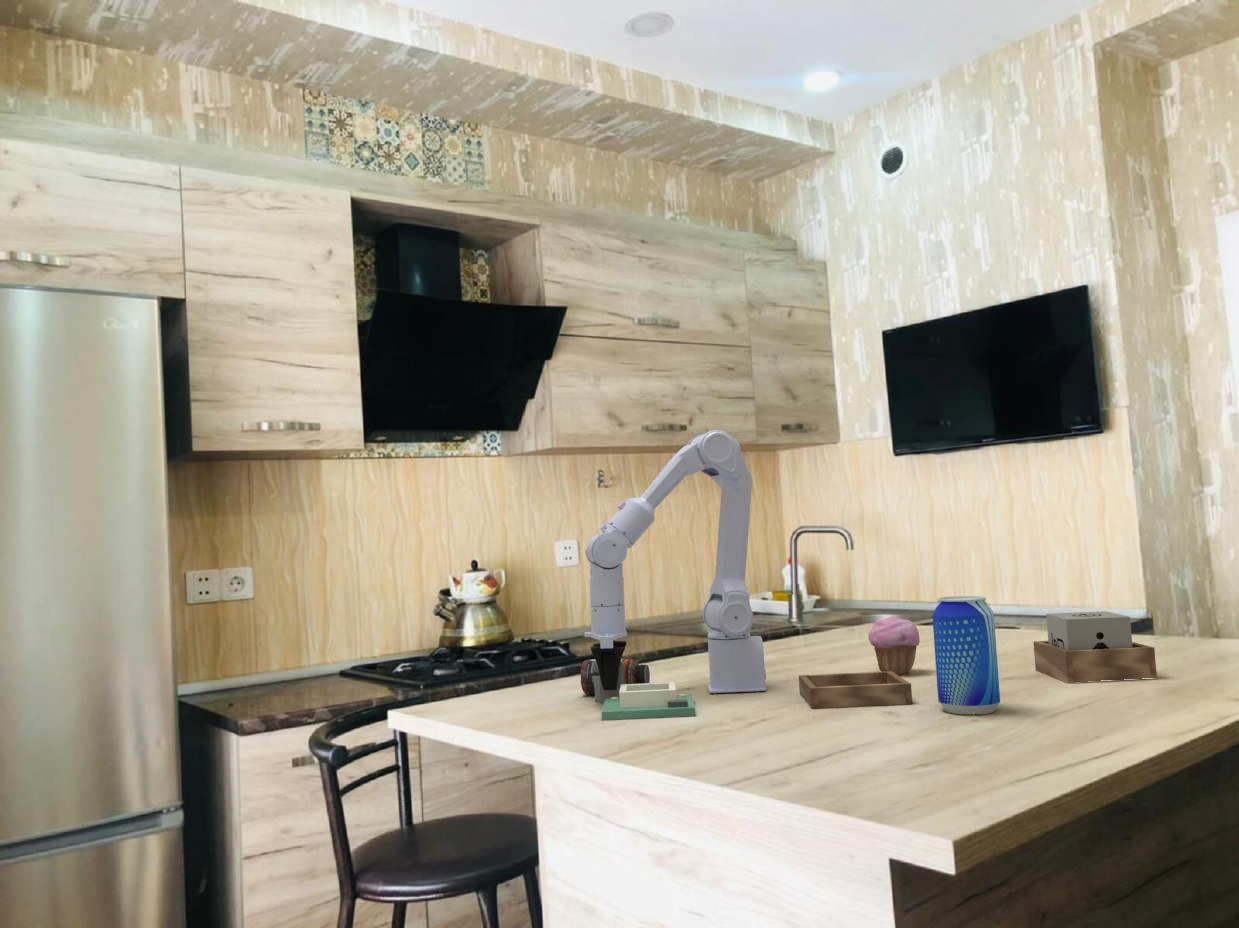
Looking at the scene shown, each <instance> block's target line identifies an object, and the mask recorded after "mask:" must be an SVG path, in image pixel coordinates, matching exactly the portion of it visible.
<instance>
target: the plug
mask: <svg viewBox="0 0 1239 928" xmlns="http://www.w3.org/2000/svg"><path fill="white" fill-rule="evenodd" d="M624 684H625V667H624V662H620V666H619V674H618V682H617V687H616V690H603V687H602V683H601V678H600V676H595V677H594V685H595V694H594V701H595V703H597V702H598V703H601V704H604V702H605V699H606V698H611V697H618V698H619V691H620V687H621V685H624Z"/></svg>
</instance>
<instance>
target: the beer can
mask: <svg viewBox="0 0 1239 928" xmlns="http://www.w3.org/2000/svg"><path fill="white" fill-rule="evenodd" d="M986 600H987V598H986V597H985V596H981V595H953V596H951V595H950V596H942V597H938V598H937V601H938V602H937V605H936V607H935V608H934V610H933V612H932V617H931V618H932V627H933V628H932V629H933V632H932V633H933V641H934V642H933V643H934V646H933V647H934V658H935V659H934V661H935V670H936V671H935V673H936V674H935V675H936V686H937V687H936V688H937V701H938V703H939V704H940V705H941V707H942V708H943V710H944V711H945V712H946V711H947V712H946V713H949V714H954V715H962V714H965V715H966V714H967V715H966V716H968V714H969V716H970V715H971V714H972V715H971V716H976V715H975V714H980V715H987V714H992V713H994V712H995V711H996V709H997V707H998V706H999V704H1000V703H1001V695H1000V694H1001V693H1000V692H1001V691H1000V681H999V680H1000V679H999V665H998V654H997V653H998V652H997V637H996V625H995V624H996V623H995V614H994V611H993V610H992V608H991V607H990V605H989V604H988V603H987V601H986ZM965 715H964V716H965Z"/></svg>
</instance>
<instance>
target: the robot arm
mask: <svg viewBox="0 0 1239 928" xmlns="http://www.w3.org/2000/svg"><path fill="white" fill-rule="evenodd" d="M698 472H702V473H703V474H706V475H707V476H708V477H710V479H712V481H713V482H715V483H716V485H717V486H718V487H719V488H720V491H721V492H720V494H721V495H720V504H719V516H718V517H719V519H718V530H717V531H718V533H717V545H716V546H717V547H716V558H715V570H714V571H715V572H714V579H713V582H712V584H711V586H710V589H709V596H708V598H707V601H706V603H705V604H704V607H703V610H702V618H703V622H704V624H705V625H706V627H707V628H708V629H709V631H708V633H707V647H708V648H707V649H708V665H709V683H706V684H707V689H708V692H709V694H722V693H723V694H725V693H743V692H744V693H745V692H766V690H767V686H766V685H767V684H766V683H767V682H766V680H767V672H766V667H765V653H764V643H763V638H762V636H761V635H753V636H752V635H751V632H750V629H751V628H752V626H753V623H754V612H753V610H752V607H751V604H750V591H749V588H748V586H747V583H746V572H747V571H746V569H747V555H748V543H749V542H748V541H749V529H750V517H751V502H752V490H753V489H752V487H753V478H752V475H751V472H750V470H749V468H748V466H747V463H746V461H745V459H744V457H743V455H742V451H741V445H740V443H739V442H737V441H736V439H734V437H733V436H731V434H729V433H728V432H727V431H724V430H720V429H713V430H710V431H708V432H706V433H704V434H698V435H695V436H694V437H692V438H691V439H690V440H689V442H687V444H685V445H684V446H683V447H681V448H680V450H678V452H676V453H675V455H674V456H672V458H671V459H670V460H669V461H668V463H667V464H666V465H665V466H664V467H663V469H662V470H661V471H660V472H659V473H658V475H657V476H656V477H655V478H654V479H653V481H652V482H651V484H650V485H648V487H647V488H646V489H645V491H644V492H643V493H642V494H641V496H640V497H630V498H628V499H627V500H626V501H624V500H622V501H621V502H620V503H619V504H618V505H617V508H618V511H616V513H615V514H614V515H613V516H612V517H611V519H610V520H608V521H607V523H603V524H601V526H599V530H600V531H601V532H602V533H599V534H596V535H594V536H592V538H590V540H589V541H588V542H587V548H586V550H585V551H584V553H585V557H586V559H587V561H588V562H589V564H590V565H589V575H590V576H589V599H590V626H591V627H590V628H591V629H590V630H591V631H584V638H592V639H595V640H597V641H600V642H596V643H593V644H592V646H591V647H590V651H591V652H590V653H592V656H593V657H594V659H595V660H596V662H597V665H598V669H599V673H600V678H601V683H602V687H603V690H616V687H617V682H618V674H619V666H620V662H621V659H623V654H624V652H625V650H626V646H627V643H628V642H627V641H626V640H619V639H622V638H625V637H627V636H628V631H627V630H626V607H625V581H624V580H625V579H624V576H623V575H624V574H623V573H624V571H623V562H624V561H625V560H626V558H627V555H628V549H632V547H633V546H634V545H635V544H636V543H637V542H638V540H639V539H640V538H641V537H642V536H643V534H644V533H645V532H646V531H647V530H648V528H649V527H651V525H652V524H653V523H654V522H655V510H656V509H657V507H658V506H659V505H660V504H661V503H662V502H663V501H664V500H665V499H666V498H667V497H668V496H669V495H670V494H671V493H672V491H673V490H674V489H675V488H676V487H677V486H678V485H679V484H680V483H681V482H682V480H684V479H685V478H686V477H687V476H690V475H693V474H696V473H698Z"/></svg>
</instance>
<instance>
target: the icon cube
mask: <svg viewBox="0 0 1239 928" xmlns="http://www.w3.org/2000/svg"><path fill="white" fill-rule="evenodd" d="M1045 616H1046V627H1047V641H1048V644H1050V645H1053V646H1056V647H1059V648H1062V649H1066V650H1069V651H1073V650H1094V649H1115V648H1133V646H1132V642H1133V638H1132V637H1133V635H1132V634H1133V633H1132V623H1131V622H1132V621H1131V616H1129V615H1123V614H1120V613H1116V612H1112V611H1111V612H1110V611H1107V610H1105V611H1104V610H1103V611H1081V612H1057V613H1055V612H1054V613H1046V615H1045Z"/></svg>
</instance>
